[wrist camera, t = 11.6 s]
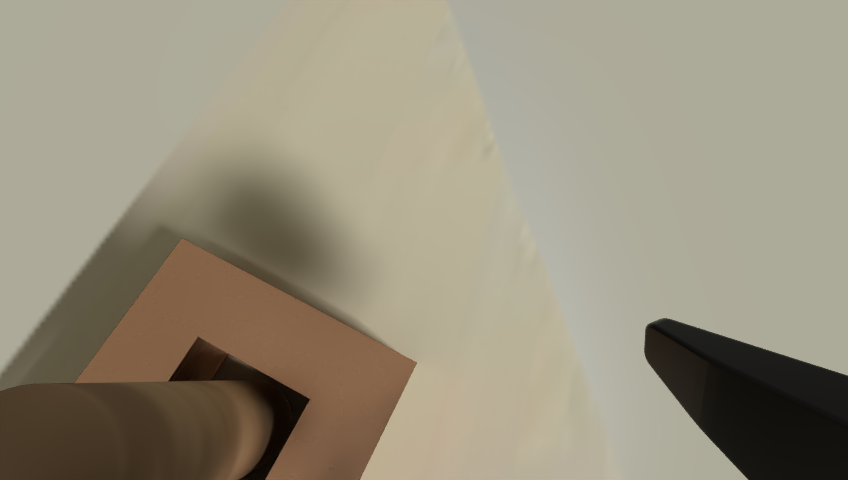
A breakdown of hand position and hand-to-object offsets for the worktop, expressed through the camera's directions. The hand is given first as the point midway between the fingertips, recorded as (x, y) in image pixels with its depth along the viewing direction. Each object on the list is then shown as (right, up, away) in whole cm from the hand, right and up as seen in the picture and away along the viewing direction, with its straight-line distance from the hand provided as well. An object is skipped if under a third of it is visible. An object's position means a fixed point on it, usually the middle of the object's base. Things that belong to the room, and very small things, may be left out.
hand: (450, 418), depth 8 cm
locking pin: (-9, -5, +12) cm, 16 cm away
